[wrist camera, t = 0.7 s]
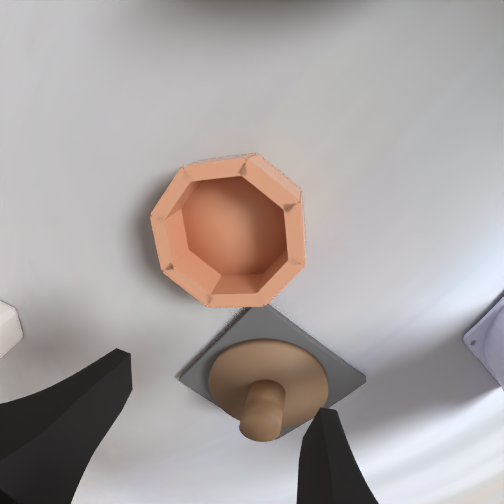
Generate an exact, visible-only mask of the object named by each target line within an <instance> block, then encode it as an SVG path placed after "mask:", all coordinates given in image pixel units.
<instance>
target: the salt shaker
mask: <svg viewBox="0 0 504 504" xmlns="http://www.w3.org/2000/svg"><path fill="white" fill-rule="evenodd" d="M22 337H23V332H22V329H21V325H20V321H19V318H18V314H17V311H16V309H15V308H14V307H12V306H10V305H8V304H6V303H4V302H2V301H0V358H2V357H3V356H4V355H5V354H6V353H7V352H8V351H9V350H10V349H11V348H12V347H14V346H15V345H16V344H17V343H18V342H19V341H20V340H21V339H22Z"/></svg>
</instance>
